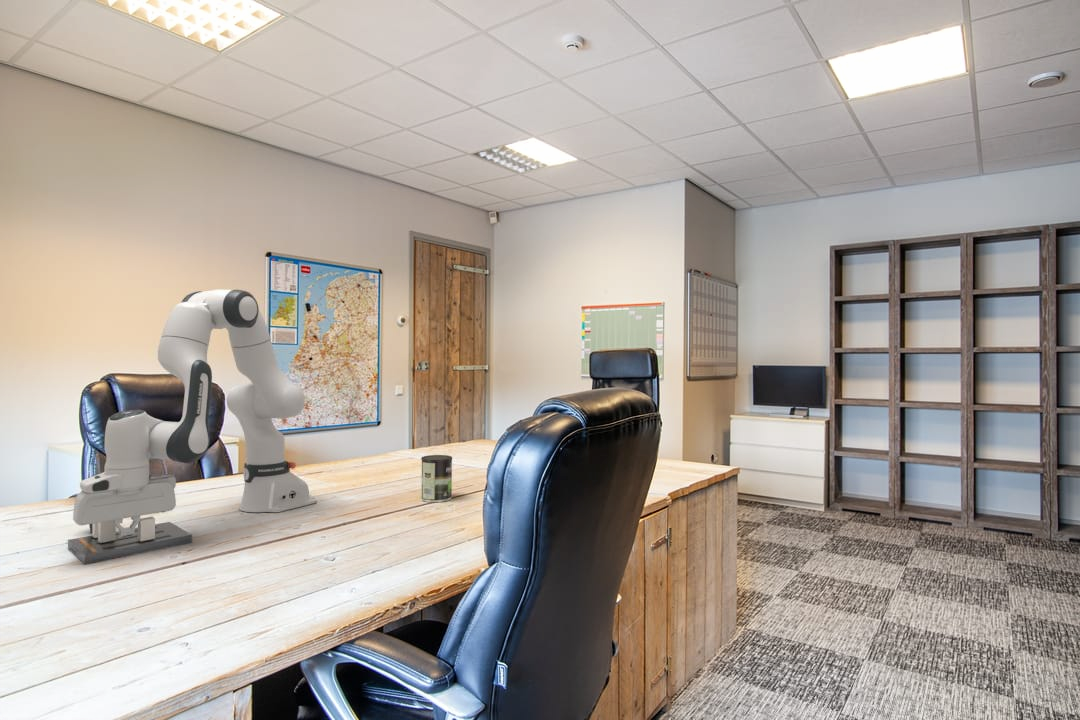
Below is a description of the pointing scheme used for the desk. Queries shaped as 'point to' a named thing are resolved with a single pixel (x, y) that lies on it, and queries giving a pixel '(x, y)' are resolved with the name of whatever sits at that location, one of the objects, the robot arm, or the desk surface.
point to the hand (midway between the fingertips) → (126, 535)
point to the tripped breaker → (146, 529)
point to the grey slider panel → (127, 544)
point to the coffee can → (436, 478)
